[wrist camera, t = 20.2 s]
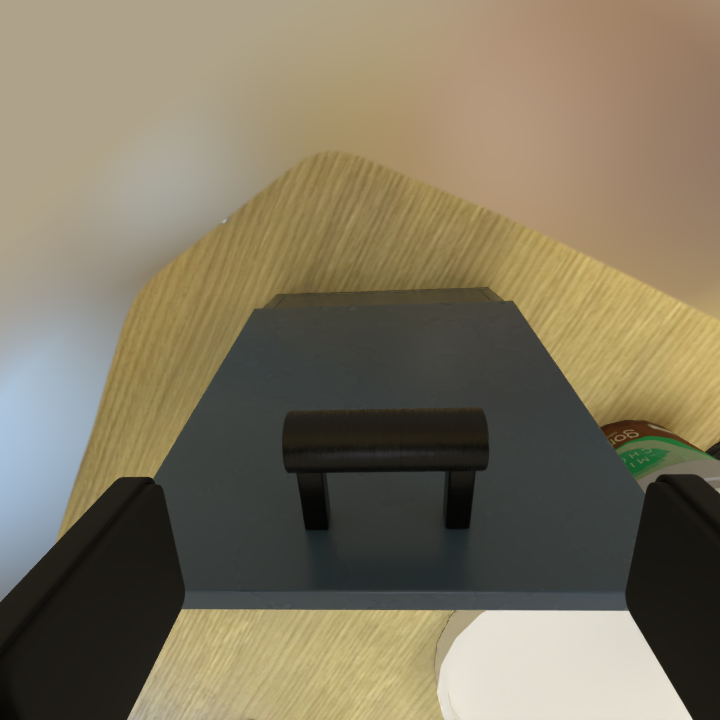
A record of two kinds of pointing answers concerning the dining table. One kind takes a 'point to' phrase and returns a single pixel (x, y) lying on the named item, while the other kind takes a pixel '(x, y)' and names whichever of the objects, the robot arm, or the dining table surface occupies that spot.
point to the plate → (550, 668)
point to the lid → (397, 469)
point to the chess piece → (715, 451)
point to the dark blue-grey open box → (383, 297)
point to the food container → (659, 453)
